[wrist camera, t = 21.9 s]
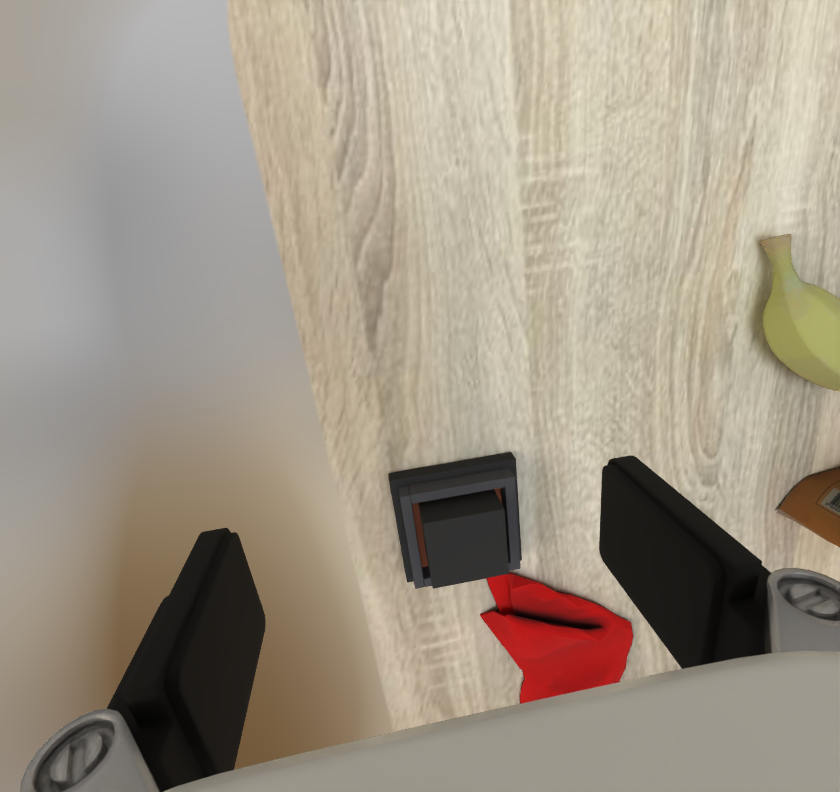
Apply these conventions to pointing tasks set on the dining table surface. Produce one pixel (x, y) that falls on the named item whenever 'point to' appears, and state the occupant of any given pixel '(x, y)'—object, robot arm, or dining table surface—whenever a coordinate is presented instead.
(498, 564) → the black pad
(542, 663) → the cloth
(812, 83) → the dining table surface
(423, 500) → the base pad
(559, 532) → the dining table surface
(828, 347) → the banana
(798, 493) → the pancake mix bag
